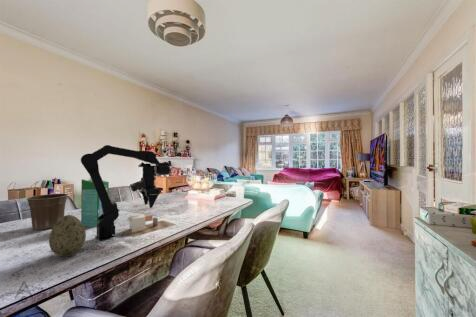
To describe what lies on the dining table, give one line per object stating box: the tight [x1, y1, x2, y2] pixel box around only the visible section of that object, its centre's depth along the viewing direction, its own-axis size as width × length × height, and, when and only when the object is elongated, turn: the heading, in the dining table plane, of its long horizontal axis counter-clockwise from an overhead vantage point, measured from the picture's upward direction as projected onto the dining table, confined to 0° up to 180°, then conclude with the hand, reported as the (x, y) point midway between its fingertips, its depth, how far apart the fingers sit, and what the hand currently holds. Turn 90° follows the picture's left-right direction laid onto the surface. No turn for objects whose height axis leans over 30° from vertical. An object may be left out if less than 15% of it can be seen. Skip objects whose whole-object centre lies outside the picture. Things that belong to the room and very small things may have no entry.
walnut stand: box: [121, 216, 177, 238], centre depth 109 cm, size 23×12×5 cm, turn 143°
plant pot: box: [26, 193, 69, 231], centre depth 112 cm, size 16×16×16 cm
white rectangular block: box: [127, 213, 154, 232], centre depth 107 cm, size 11×6×6 cm, turn 128°
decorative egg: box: [48, 214, 87, 257], centre depth 80 cm, size 11×11×15 cm
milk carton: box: [80, 177, 110, 228], centre depth 117 cm, size 9×9×25 cm
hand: (148, 206), depth 109 cm, fingers open, 9 cm apart
